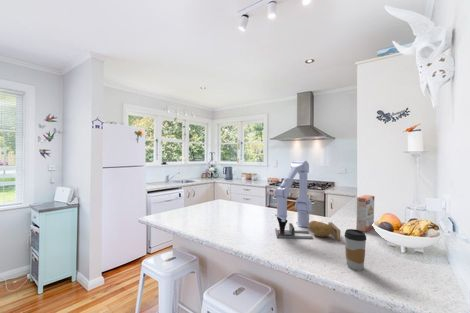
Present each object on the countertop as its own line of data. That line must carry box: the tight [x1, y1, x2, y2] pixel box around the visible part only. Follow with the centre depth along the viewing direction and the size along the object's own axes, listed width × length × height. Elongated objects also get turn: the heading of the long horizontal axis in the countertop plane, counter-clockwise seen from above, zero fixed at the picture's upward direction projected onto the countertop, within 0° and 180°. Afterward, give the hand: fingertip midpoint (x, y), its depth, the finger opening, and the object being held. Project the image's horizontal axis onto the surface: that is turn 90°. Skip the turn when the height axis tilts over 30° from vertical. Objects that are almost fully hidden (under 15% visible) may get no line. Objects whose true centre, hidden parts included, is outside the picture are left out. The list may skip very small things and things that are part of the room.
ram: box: [277, 222, 295, 236], centre depth 134 cm, size 9×9×7 cm
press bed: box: [274, 221, 341, 242], centre depth 133 cm, size 14×34×6 cm, turn 85°
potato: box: [308, 220, 333, 238], centre depth 132 cm, size 10×14×8 cm
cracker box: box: [356, 194, 375, 233], centre depth 144 cm, size 14×6×21 cm, turn 131°
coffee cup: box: [343, 228, 367, 271], centre depth 96 cm, size 8×8×15 cm
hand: (281, 230), depth 134 cm, fingers closed on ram, 3 cm apart
